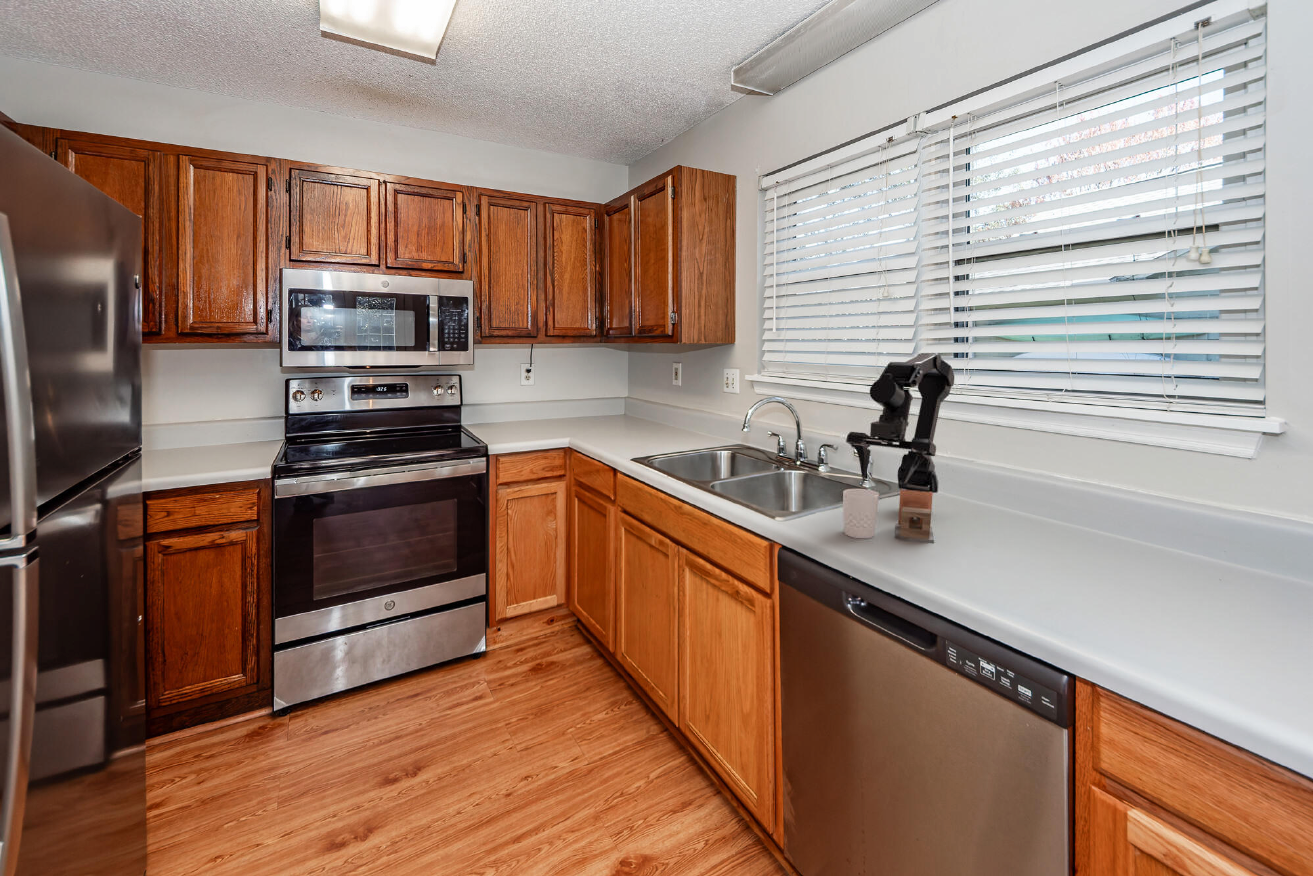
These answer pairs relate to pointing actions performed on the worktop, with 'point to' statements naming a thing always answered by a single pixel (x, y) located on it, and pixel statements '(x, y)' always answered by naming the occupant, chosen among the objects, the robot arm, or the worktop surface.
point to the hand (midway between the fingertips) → (883, 480)
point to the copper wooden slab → (914, 503)
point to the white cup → (860, 512)
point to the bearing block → (915, 531)
